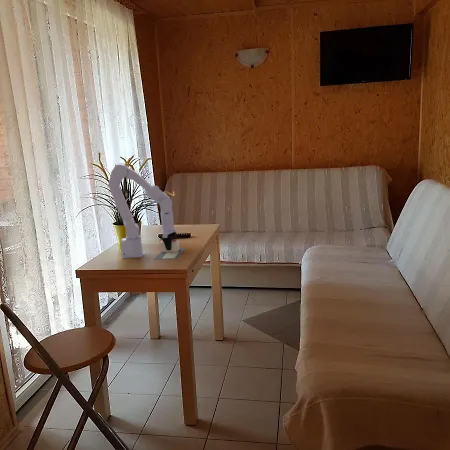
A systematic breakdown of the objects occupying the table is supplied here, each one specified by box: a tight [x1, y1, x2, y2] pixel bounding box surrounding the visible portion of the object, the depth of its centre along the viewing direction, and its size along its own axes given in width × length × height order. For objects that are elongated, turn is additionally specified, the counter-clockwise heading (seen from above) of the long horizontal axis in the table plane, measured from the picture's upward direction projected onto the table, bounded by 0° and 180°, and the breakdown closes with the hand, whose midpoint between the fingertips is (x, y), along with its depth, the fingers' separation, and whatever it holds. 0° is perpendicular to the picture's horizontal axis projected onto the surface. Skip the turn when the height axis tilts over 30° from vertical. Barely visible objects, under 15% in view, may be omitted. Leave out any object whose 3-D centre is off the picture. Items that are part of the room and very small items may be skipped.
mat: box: [153, 247, 186, 261], centre depth 210 cm, size 11×18×1 cm, turn 173°
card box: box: [159, 238, 180, 252], centre depth 214 cm, size 8×4×5 cm, turn 83°
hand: (170, 248), depth 214 cm, fingers closed on card box, 4 cm apart
